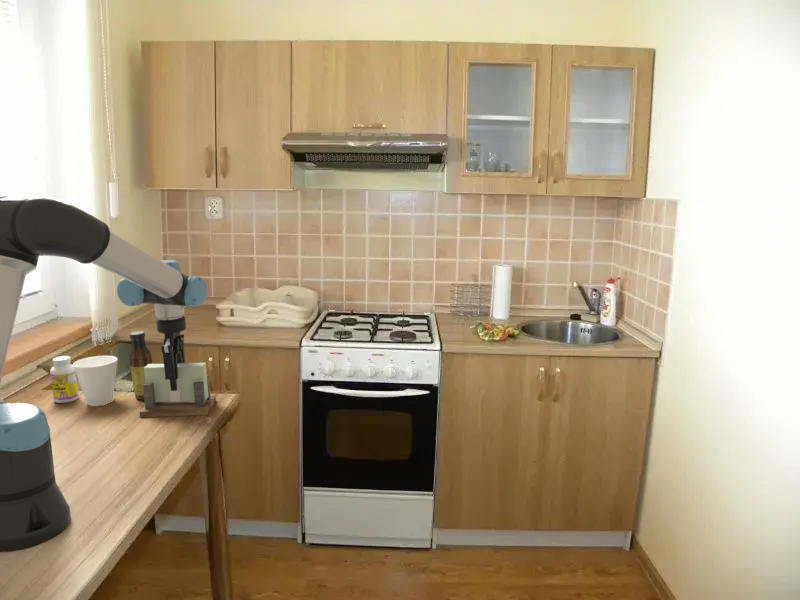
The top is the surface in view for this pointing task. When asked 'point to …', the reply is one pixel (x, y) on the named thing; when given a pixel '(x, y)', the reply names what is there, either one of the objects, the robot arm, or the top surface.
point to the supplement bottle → (63, 380)
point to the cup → (97, 378)
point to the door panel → (186, 375)
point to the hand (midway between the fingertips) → (178, 397)
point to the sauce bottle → (139, 362)
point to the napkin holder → (177, 403)
